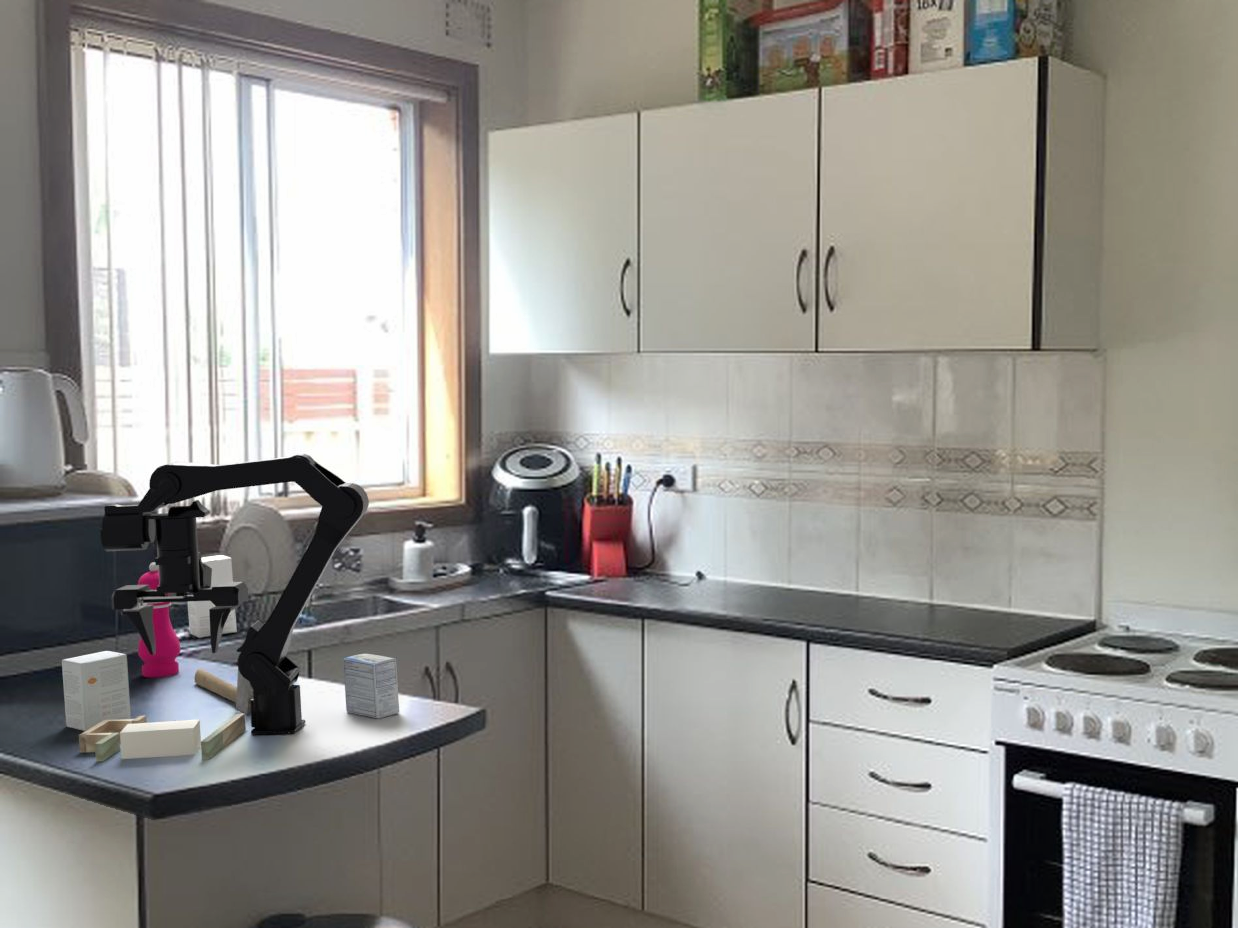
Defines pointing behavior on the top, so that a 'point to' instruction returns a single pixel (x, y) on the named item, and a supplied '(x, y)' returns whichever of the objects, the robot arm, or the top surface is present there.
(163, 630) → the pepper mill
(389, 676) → the medicine box
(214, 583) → the skincare box
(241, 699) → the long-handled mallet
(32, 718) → the top surface
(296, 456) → the robot arm
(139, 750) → the cream block
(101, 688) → the small box
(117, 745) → the u-shaped wooden frame
